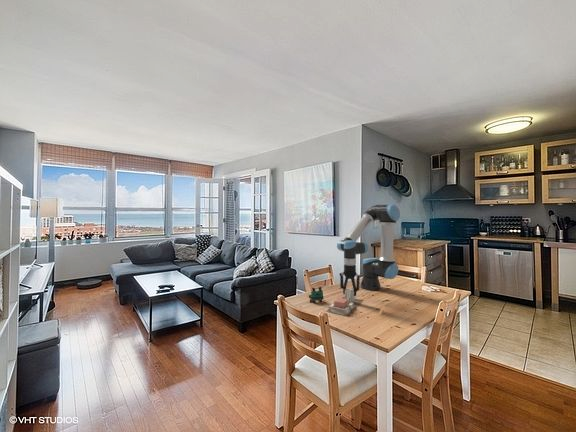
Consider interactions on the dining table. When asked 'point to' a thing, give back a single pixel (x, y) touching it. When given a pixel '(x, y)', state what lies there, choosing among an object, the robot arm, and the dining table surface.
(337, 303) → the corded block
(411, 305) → the dining table surface
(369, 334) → the dining table surface
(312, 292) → the green toy creature
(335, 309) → the lane shelf
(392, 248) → the robot arm
